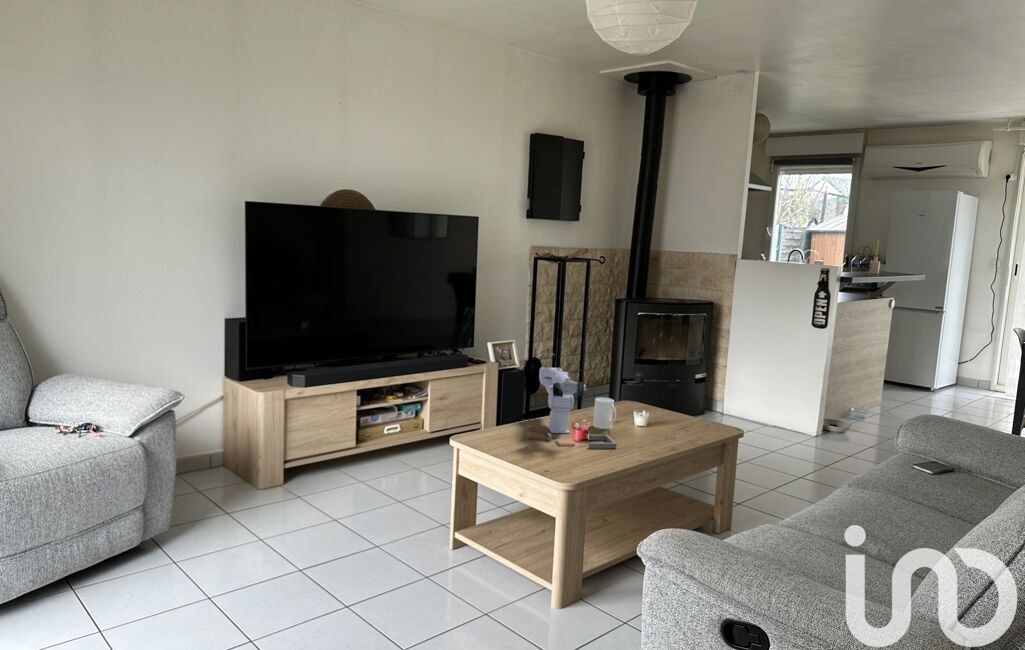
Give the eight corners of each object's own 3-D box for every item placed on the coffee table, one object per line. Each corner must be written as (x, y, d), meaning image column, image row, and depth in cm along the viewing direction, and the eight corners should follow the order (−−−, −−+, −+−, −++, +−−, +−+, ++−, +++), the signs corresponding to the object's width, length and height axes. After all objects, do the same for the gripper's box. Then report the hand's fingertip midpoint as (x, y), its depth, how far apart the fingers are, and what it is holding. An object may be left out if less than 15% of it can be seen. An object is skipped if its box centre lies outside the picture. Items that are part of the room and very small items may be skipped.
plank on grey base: (524, 435, 289) (525, 423, 288) (546, 435, 290) (547, 423, 290) (528, 441, 281) (529, 428, 280) (551, 441, 282) (552, 429, 282)
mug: (621, 430, 306) (623, 403, 304) (605, 432, 301) (607, 404, 300) (604, 423, 316) (606, 396, 314) (588, 424, 311) (590, 397, 310)
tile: (555, 442, 283) (556, 438, 283) (570, 442, 284) (570, 439, 284) (559, 447, 277) (559, 443, 277) (574, 447, 278) (574, 443, 278)
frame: (580, 439, 288) (581, 434, 288) (606, 439, 290) (607, 434, 290) (589, 448, 276) (589, 443, 276) (616, 448, 278) (616, 443, 278)
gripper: (547, 375, 288) (553, 384, 275) (583, 374, 290) (590, 383, 277) (547, 392, 289) (553, 402, 276) (582, 391, 291) (590, 401, 278)
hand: (571, 394), depth 276 cm, fingers open, 7 cm apart
